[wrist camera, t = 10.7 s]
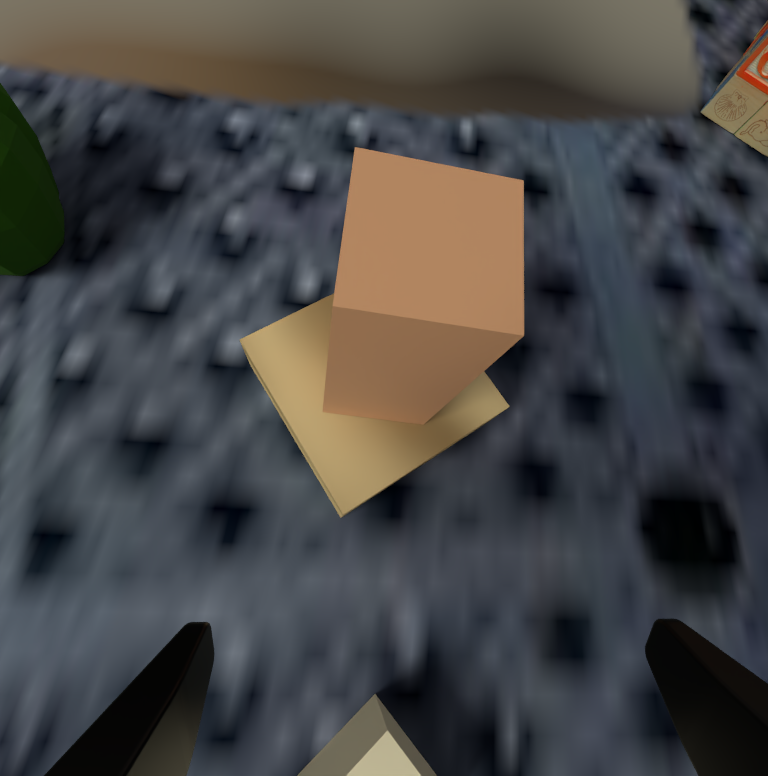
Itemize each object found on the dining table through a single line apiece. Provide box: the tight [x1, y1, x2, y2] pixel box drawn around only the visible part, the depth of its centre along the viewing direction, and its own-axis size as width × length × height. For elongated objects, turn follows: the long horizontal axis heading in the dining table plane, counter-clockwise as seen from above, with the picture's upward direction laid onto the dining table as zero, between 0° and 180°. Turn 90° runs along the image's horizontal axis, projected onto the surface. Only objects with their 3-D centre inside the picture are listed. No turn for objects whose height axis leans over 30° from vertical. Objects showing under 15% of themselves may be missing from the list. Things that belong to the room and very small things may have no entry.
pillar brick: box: [323, 147, 524, 425], centre depth 16 cm, size 4×4×10 cm
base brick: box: [240, 294, 510, 517], centre depth 22 cm, size 9×9×4 cm
